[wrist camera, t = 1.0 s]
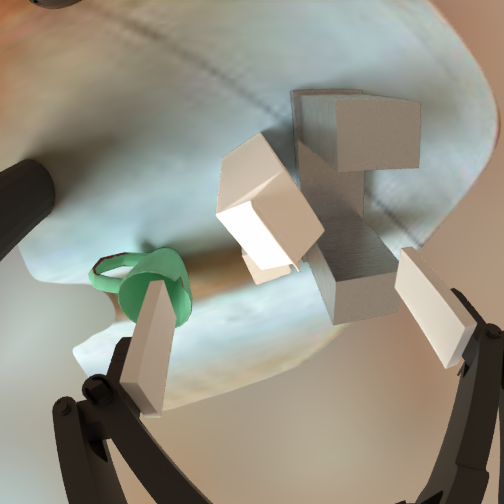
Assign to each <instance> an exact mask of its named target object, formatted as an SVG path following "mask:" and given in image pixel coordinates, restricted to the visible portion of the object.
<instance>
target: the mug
mask: <svg viewBox="0 0 504 504" xmlns="http://www.w3.org/2000/svg"><path fill="white" fill-rule="evenodd" d="M121 266H135V267H134V268H133V269H132V270H131V271H130V272H129V273H128V274H127V275H126V276H125V278H124V279H122V278H115V277H108V276H104V275H101V274H100V273H103V272H106V271H109V270H112V269H115V268H118V267H121ZM88 276H89V279H90V281H91V283H92V285H93V287H94V288H95V289H99V290H102V291H105V292H112V293H117V294H118V303H119V305H120V307H121V309H122V311H123V312H124V313H125V315H126V316H127V317H128V318H129V319H130V320H132V321H133V322H135V323H137V320H138V317H139V313H140V310H141V307H142V304H143V301H144V298H145V295H146V292H147V289H148V286H149V283H150V281H158V280H164V283H165V286H166V289H167V292H168V295H169V298H170V301H171V304H172V307H173V310H174V312H175V315H176V324H175V328H177V327H180V326H181V325H182V324H184V323H185V322H186V321H187V320H188V318H189V316H190V314H191V311H192V294H191V290H190V284H189V278H188V274H187V271H186V268H185V265H184V263H183V261H182V259H181V257H180V255H179V254H178V253H177V252H176V251H175V250H173V249H170V248H160V249H158V250H156V251H154V252H152V253H128V252H124V253H119V254H115V255H111V256H107V257H103V258H100V259H99V261H98V262H97V263H96V264H95V265H94V267H93V268H92V269H91V270H90V272H89V274H88Z"/></svg>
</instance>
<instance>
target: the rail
mask: <svg viewBox="0 0 504 504" xmlns="http://www.w3.org/2000/svg"><path fill="white" fill-rule="evenodd" d="M290 98H291V108H292V119H293V131H294V143H295V156H296V171H297V186H298V188H299V189H300V191H301V193H302V194H303V196H304V197H305V199H306V200H307V202H308V204H309V205H310V207H311V208H312V210H313V212H314V213H315V215H316V216H317V218H318V220H319V221H320V223H321V224H322V226H323V228H324V232H323V234H322V235H321V236H320V237H319V238H318V239H317V240H316V242H315V243H314V244H313V245H312V246H311V247H310V248H309V250H308V251H307V252H306V253H305V254H304V255H303V256H302V260H303V262H308V263H309V266H310V268H311V271H312V273H313V275H314V278H315V280H316V283H317V286H318V288H319V291H320V293H321V296H322V298H323V301H324V303H325V306H326V309H327V311H328V314H329V316H330V319H331V322H332V324H333V325H338V324H343V323H348V322H354V321H358V320H364V319H368V318H373V317H378V316H383V315H387V314H392V313H396V312H397V309H398V305H399V301H400V295H399V293H398V292H397V290H396V289H395V282H396V276H397V271H398V265H399V261H398V260H397V258H396V257H395V256H394V255H393V253H392V252H391V251H390V250H389V249H388V247H387V246H386V245H385V244H384V243H383V241H382V240H381V239H380V238H379V237H378V236H377V234H376V233H375V232H374V231H373V230H372V229H371V227H370V226H369V225H368V224H367V223H366V222H365V221H364V220H363V204H364V170H382V169H406V168H419V159H420V128H421V108H420V103H419V102H413V101H408V100H401V99H395V98H388V97H381V96H373V95H364V94H363V93H362V90H303V91H290Z"/></svg>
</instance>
